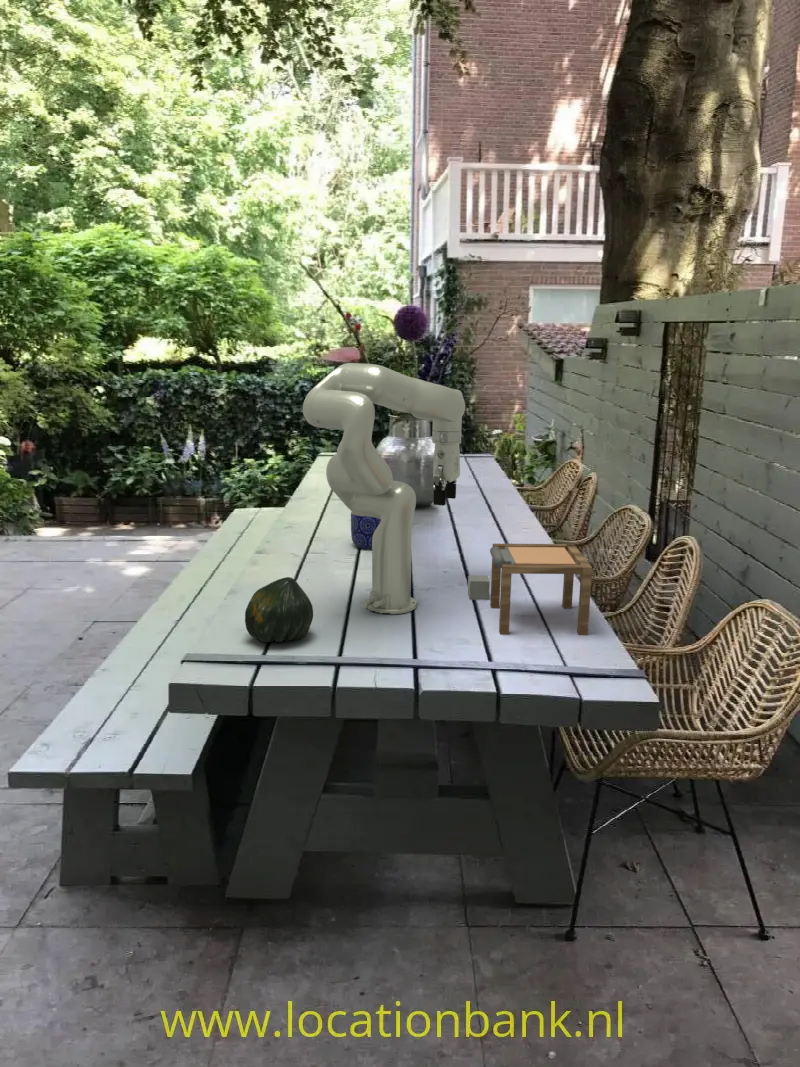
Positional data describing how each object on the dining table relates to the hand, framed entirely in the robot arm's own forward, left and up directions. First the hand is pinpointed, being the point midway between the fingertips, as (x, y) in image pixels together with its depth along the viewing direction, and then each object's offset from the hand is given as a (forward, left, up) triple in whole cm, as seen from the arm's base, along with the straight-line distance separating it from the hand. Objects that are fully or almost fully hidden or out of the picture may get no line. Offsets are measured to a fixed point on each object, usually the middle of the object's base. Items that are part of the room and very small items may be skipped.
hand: (444, 501), depth 229 cm
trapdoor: (-12, -33, -8) cm, 36 cm away
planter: (+15, +38, -23) cm, 47 cm away
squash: (-57, +6, -23) cm, 61 cm away
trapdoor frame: (-11, -34, -22) cm, 42 cm away
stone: (-5, -14, -22) cm, 27 cm away
